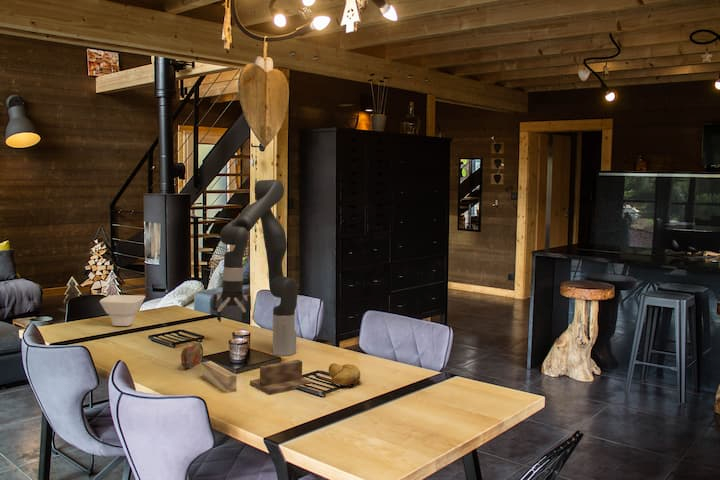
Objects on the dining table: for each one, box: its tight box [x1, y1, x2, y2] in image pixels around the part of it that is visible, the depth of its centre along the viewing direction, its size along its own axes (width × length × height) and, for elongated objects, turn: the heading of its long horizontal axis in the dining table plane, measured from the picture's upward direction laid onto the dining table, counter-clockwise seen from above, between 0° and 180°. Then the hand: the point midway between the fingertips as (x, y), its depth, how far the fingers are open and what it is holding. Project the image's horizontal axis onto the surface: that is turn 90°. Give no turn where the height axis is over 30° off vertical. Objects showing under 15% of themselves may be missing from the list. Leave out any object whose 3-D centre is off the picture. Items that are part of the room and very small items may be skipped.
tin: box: [180, 342, 204, 369], centre depth 264 cm, size 15×3×8 cm, turn 168°
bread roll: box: [328, 363, 361, 386], centre depth 245 cm, size 13×10×8 cm
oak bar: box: [201, 360, 238, 394], centre depth 241 cm, size 4×22×6 cm, turn 37°
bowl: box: [99, 294, 146, 327], centre depth 332 cm, size 19×19×14 cm
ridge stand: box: [249, 359, 313, 395], centre depth 241 cm, size 18×14×8 cm
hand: (231, 321), depth 252 cm, fingers open, 8 cm apart
